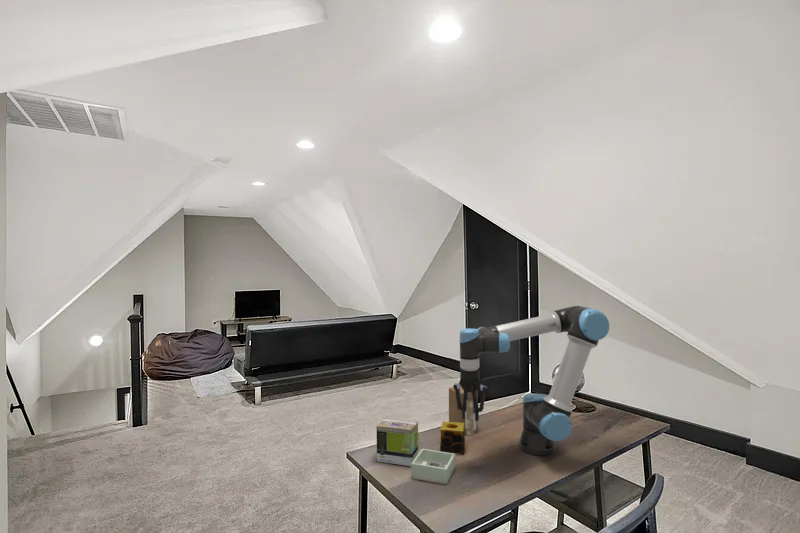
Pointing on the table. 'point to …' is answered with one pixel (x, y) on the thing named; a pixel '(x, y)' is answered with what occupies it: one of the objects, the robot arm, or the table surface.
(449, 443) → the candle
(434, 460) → the pale green square tray
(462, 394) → the wooden block
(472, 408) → the long wooden plank
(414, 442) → the tea box
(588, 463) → the table surface
